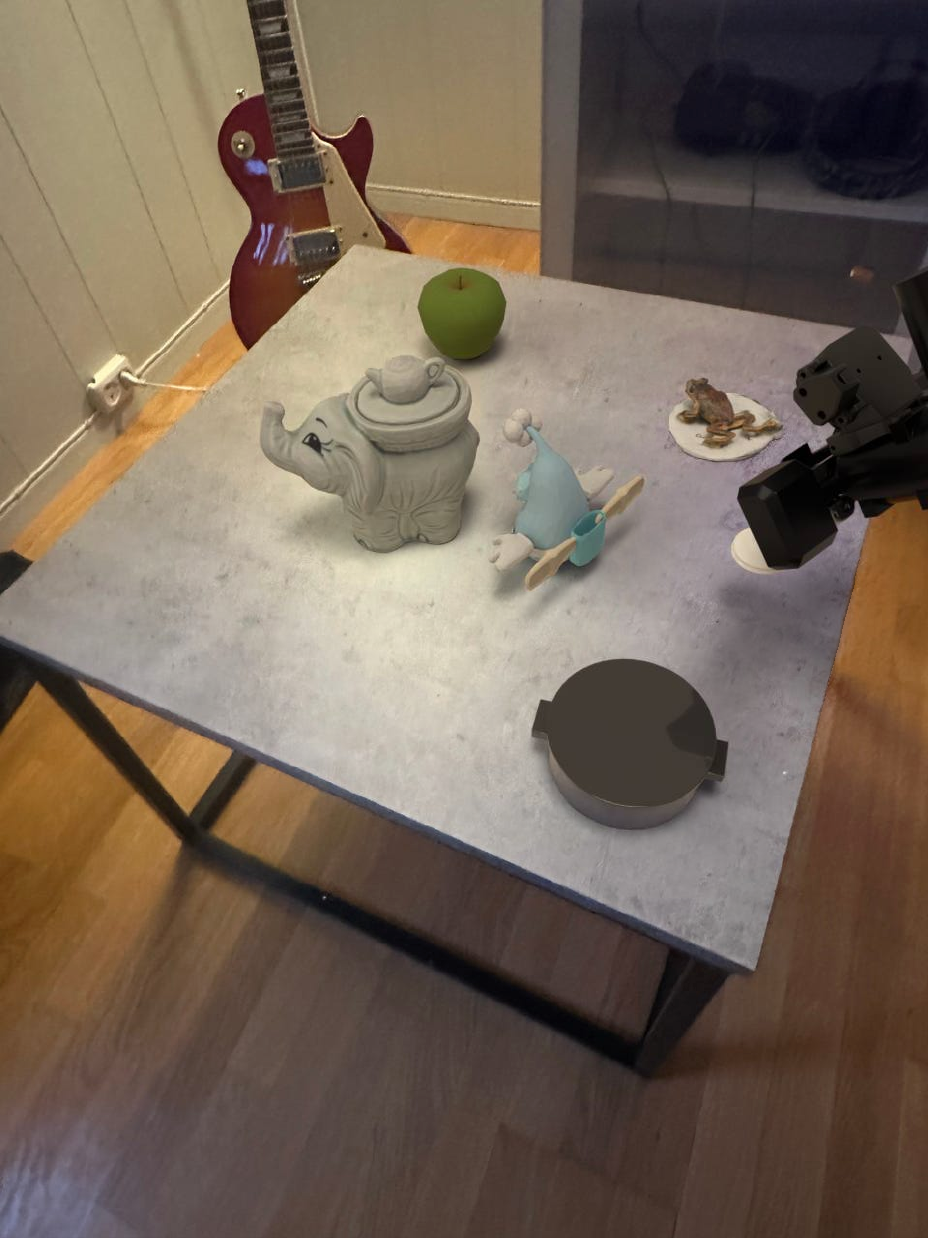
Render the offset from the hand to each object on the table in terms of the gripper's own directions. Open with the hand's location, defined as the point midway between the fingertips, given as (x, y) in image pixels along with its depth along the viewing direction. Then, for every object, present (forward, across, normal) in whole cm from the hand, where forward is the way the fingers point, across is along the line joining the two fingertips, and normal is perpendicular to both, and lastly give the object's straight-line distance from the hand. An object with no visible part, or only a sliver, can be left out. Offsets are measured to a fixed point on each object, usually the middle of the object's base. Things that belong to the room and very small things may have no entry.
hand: (766, 486), depth 59 cm
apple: (+43, -4, -24) cm, 49 cm away
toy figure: (+20, +9, -1) cm, 22 cm away
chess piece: (+4, 0, +6) cm, 7 cm away
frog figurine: (+22, -17, -2) cm, 28 cm away
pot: (+6, +19, +14) cm, 24 cm away
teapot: (+30, +19, -11) cm, 37 cm away
